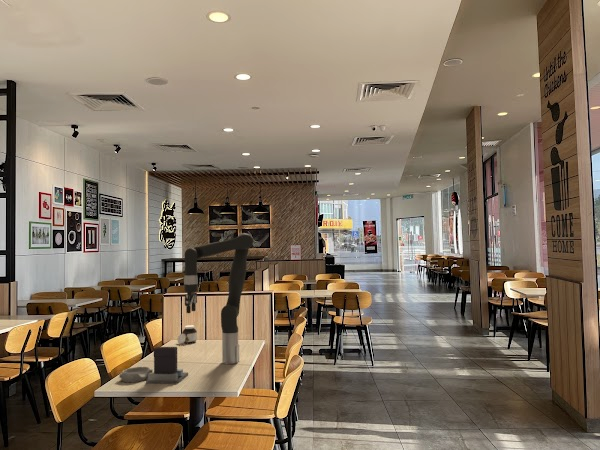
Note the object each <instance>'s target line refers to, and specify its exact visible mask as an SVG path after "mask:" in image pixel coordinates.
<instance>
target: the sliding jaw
mask: <svg viewBox="0 0 600 450" xmlns="http://www.w3.org/2000/svg"><path fill="white" fill-rule="evenodd" d="M177 373H178V376H182V375H183V373H184V368H177Z"/></svg>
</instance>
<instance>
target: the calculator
mask: <svg viewBox="0 0 600 450" xmlns="http://www.w3.org/2000/svg"><path fill="white" fill-rule="evenodd" d="M177 369H178V347H177V346H156V347H154V348H153V373H177Z"/></svg>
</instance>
